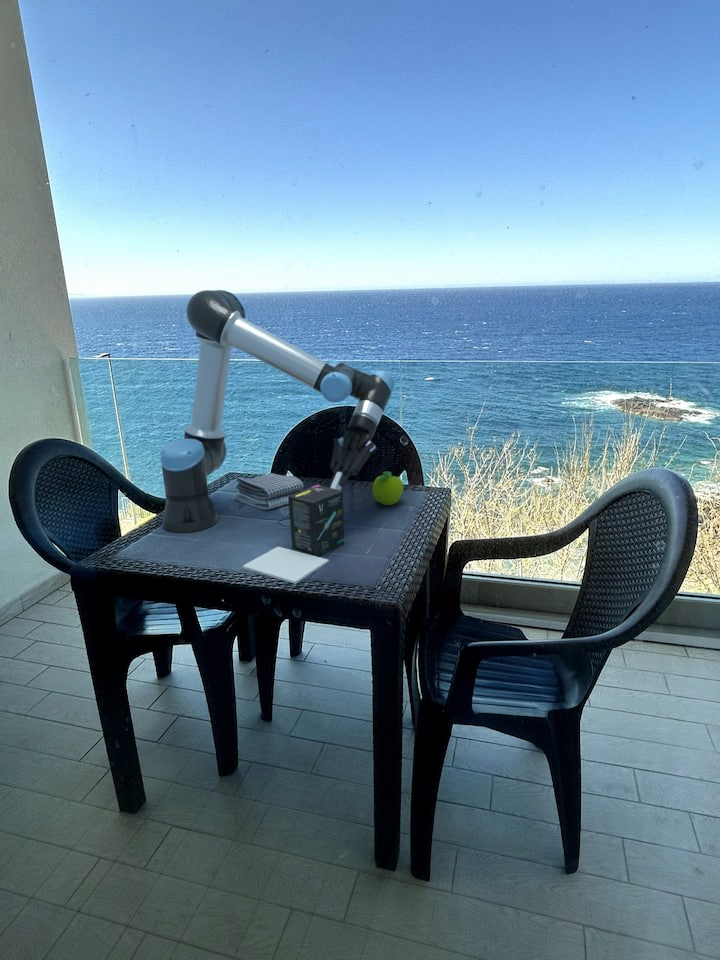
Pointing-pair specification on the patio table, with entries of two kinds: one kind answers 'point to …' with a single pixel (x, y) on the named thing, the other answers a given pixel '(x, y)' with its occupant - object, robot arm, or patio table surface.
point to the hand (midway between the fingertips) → (332, 495)
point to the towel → (267, 490)
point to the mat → (286, 564)
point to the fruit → (387, 488)
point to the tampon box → (316, 519)
